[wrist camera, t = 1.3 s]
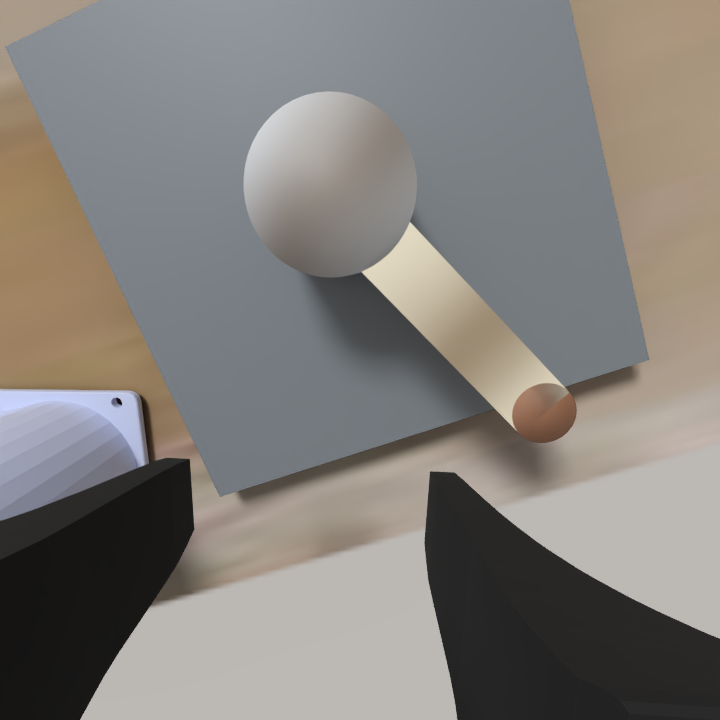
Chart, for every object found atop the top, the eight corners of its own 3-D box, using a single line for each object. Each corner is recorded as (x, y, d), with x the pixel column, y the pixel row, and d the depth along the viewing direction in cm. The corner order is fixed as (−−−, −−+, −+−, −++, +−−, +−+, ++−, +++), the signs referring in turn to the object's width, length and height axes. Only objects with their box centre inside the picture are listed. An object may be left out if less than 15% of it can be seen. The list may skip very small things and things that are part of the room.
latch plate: (231, 480, 21) (219, 496, 19) (37, 66, 17) (4, 47, 16) (627, 352, 19) (649, 359, 17) (508, -161, 15) (522, -208, 13)
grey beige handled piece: (253, 210, 16) (208, 189, 12) (341, 110, 15) (327, 48, 11) (473, 431, 18) (504, 483, 14) (565, 352, 17) (629, 382, 13)
